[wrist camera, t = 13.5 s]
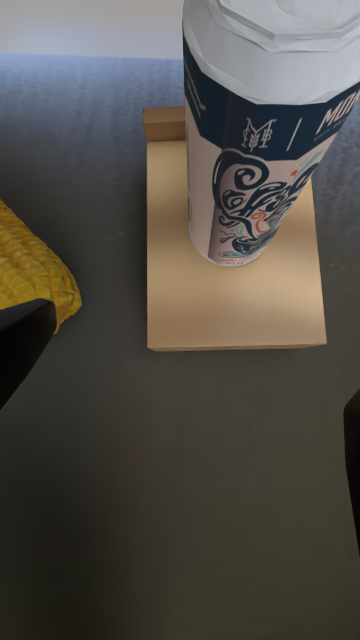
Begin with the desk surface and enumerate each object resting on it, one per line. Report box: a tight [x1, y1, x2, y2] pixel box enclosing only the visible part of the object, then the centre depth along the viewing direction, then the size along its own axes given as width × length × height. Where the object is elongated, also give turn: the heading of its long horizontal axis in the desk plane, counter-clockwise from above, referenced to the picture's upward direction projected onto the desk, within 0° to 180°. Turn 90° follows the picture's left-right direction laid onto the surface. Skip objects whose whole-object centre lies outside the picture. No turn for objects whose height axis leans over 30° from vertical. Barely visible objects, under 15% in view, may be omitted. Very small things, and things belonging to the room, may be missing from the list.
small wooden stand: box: [143, 106, 327, 351], centre depth 19 cm, size 14×10×6 cm
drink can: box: [182, 0, 360, 266], centre depth 12 cm, size 5×5×12 cm
